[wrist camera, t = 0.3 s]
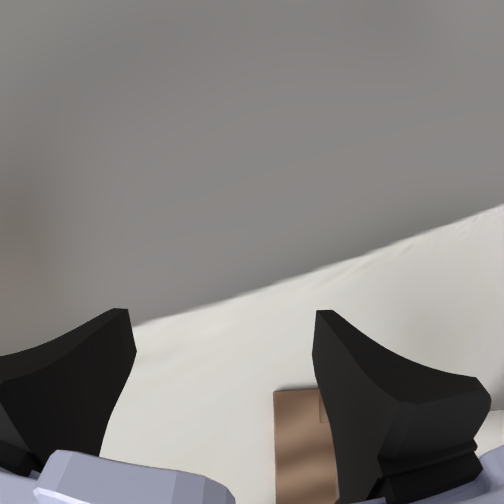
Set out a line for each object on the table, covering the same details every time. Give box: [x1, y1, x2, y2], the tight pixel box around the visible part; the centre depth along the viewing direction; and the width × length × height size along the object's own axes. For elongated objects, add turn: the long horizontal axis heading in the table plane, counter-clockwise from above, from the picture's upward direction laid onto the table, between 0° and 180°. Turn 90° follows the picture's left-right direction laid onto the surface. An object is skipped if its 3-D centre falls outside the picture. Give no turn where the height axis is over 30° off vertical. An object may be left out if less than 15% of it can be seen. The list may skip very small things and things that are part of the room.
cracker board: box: [273, 387, 335, 504], centre depth 34 cm, size 18×18×3 cm
